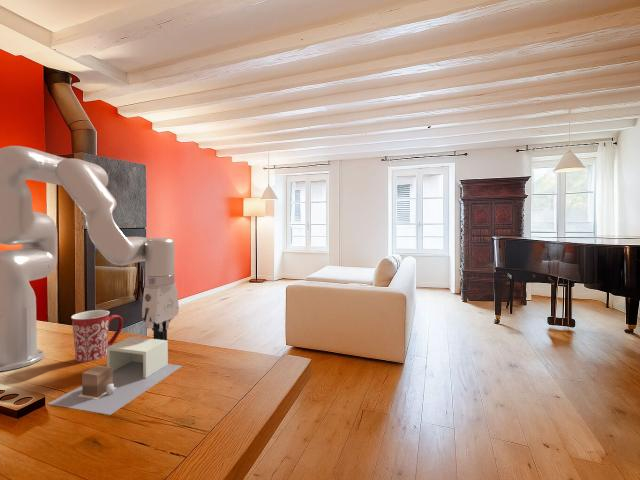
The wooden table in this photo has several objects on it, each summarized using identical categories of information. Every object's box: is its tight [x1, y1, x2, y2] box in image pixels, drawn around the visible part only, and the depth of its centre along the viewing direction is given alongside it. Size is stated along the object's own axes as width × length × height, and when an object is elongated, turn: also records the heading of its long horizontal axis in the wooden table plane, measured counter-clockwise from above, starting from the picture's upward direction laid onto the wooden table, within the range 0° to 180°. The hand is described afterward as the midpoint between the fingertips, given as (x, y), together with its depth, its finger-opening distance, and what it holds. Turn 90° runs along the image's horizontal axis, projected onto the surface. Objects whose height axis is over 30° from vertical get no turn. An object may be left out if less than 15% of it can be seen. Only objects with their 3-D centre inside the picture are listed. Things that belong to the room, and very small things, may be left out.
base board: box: [47, 361, 183, 416], centre depth 77 cm, size 16×23×3 cm
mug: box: [70, 309, 124, 363], centre depth 92 cm, size 13×9×14 cm
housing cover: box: [106, 336, 169, 378], centre depth 84 cm, size 12×8×7 cm
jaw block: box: [81, 365, 113, 397], centre depth 72 cm, size 4×4×5 cm
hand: (160, 343), depth 92 cm, fingers closed
